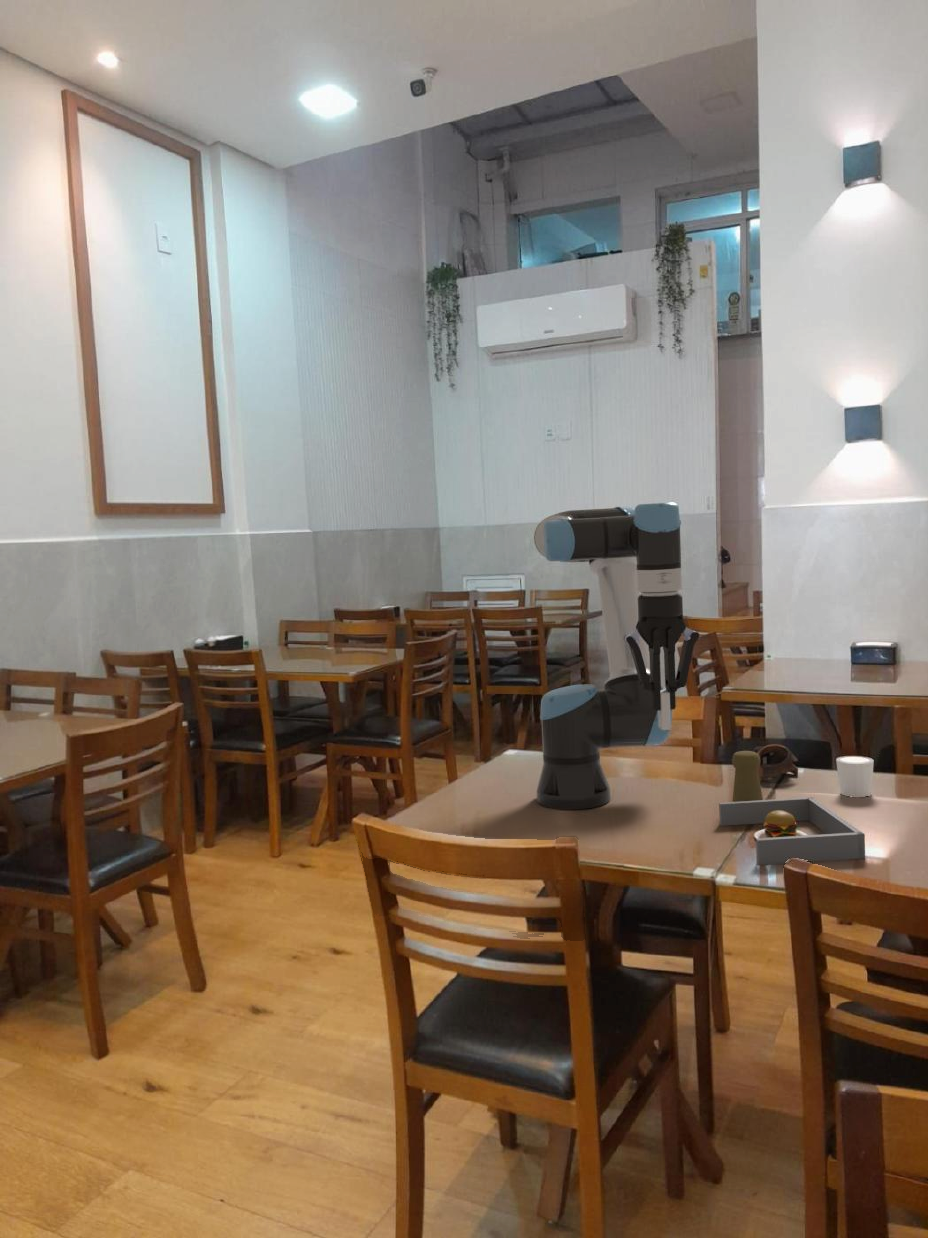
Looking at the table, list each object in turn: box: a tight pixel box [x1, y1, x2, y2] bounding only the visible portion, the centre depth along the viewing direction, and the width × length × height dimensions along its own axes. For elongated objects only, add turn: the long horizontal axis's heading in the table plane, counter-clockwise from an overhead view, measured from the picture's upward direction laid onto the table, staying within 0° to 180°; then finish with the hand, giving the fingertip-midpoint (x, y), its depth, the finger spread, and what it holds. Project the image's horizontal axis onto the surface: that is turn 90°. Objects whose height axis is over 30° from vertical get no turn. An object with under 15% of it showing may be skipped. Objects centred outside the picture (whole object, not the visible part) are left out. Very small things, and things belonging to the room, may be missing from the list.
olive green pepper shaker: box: [731, 750, 764, 802], centre depth 178 cm, size 6×6×11 cm
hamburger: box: [753, 810, 808, 840], centre depth 159 cm, size 12×12×6 cm
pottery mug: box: [752, 743, 799, 783], centre depth 200 cm, size 12×10×8 cm
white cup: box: [835, 755, 875, 798], centre depth 183 cm, size 7×7×7 cm
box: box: [718, 796, 866, 866], centre depth 158 cm, size 22×17×4 cm
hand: (664, 728), depth 161 cm, fingers closed
